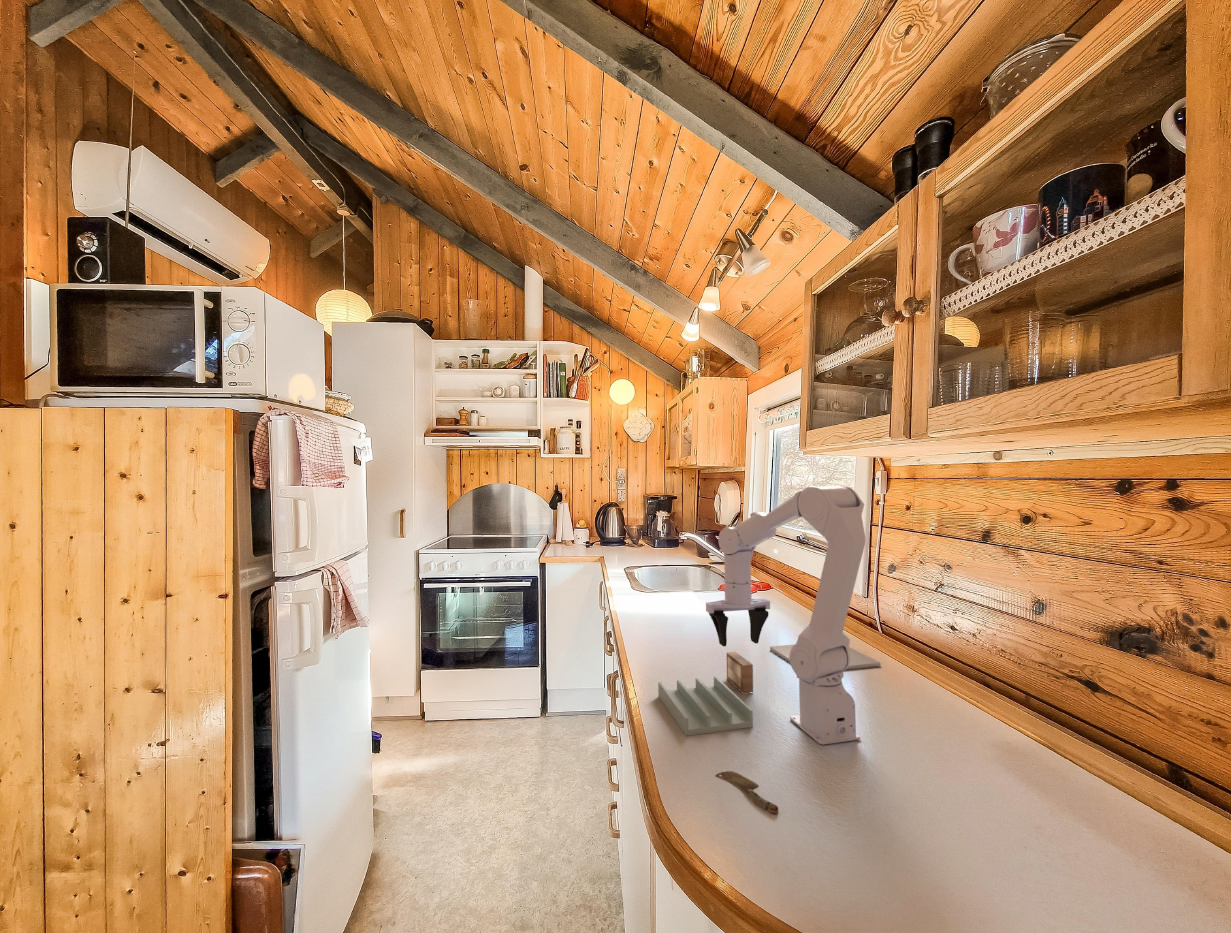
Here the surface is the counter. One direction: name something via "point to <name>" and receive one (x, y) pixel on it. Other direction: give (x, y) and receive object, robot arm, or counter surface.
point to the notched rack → (706, 707)
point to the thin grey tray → (856, 657)
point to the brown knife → (748, 789)
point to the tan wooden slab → (740, 672)
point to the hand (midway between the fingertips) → (738, 643)
